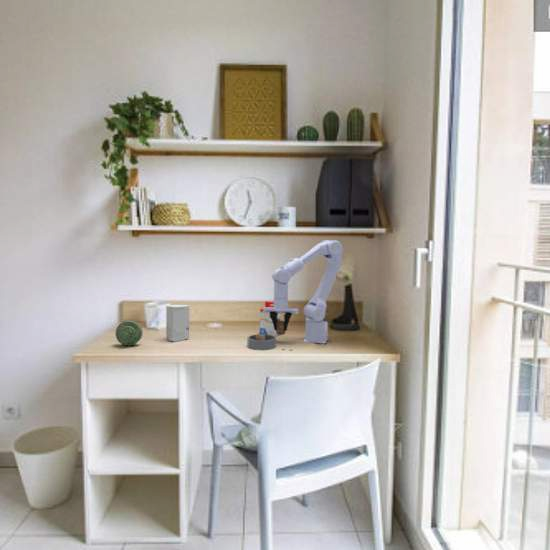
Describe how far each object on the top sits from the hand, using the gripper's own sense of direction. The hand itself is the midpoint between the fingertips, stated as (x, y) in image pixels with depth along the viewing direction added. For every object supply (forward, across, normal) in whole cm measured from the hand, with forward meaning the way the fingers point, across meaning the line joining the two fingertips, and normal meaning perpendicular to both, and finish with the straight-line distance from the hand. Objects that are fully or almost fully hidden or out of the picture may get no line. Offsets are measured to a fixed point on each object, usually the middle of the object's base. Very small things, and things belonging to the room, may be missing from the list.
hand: (280, 330), depth 173 cm
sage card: (+6, +5, -11) cm, 13 cm away
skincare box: (+6, -44, -5) cm, 45 cm away
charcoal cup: (+6, -6, -8) cm, 12 cm away
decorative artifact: (+6, -58, -21) cm, 62 cm away
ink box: (+6, -8, +15) cm, 18 cm away
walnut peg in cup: (+5, -6, -10) cm, 13 cm away
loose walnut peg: (+2, 0, 0) cm, 2 cm away
